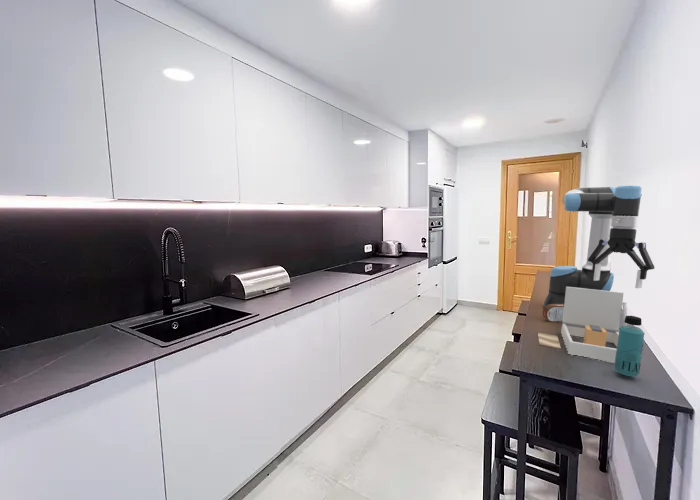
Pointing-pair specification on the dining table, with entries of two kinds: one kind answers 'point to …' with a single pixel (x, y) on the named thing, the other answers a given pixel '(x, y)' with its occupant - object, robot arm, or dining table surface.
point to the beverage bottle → (629, 347)
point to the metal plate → (548, 340)
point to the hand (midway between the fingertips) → (616, 284)
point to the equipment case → (592, 320)
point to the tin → (553, 312)
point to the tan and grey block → (595, 335)
